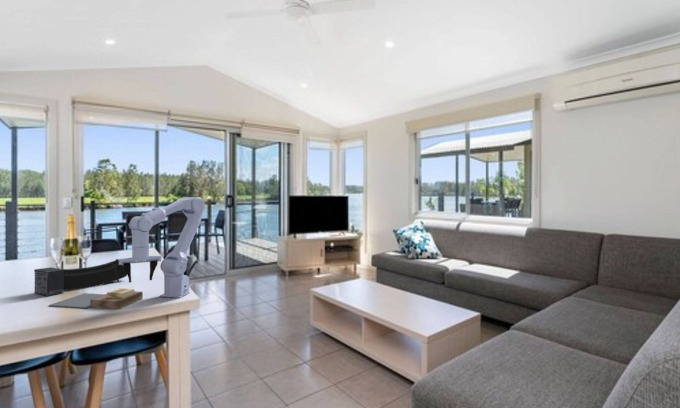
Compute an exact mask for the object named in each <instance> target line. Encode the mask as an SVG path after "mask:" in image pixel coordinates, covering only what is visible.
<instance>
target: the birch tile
mask: <svg viewBox="0 0 680 408" xmlns="http://www.w3.org/2000/svg"><path fill="white" fill-rule="evenodd" d="M134 291H135V288H115V289H113V290H110V291H107V292H106V294H107V298H126V297H128V296H131V295H133V294H134Z"/></svg>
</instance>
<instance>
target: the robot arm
mask: <svg viewBox="0 0 680 408" xmlns="http://www.w3.org/2000/svg"><path fill="white" fill-rule="evenodd" d="M205 208H206V205H205V202H204V200H203V198H201V197H197V196H196V197H192V196H191V197H189V196H183V197H181V198H178V199H177V200H176V201H173V202H172V203H170V204H168V205H166V206H164V207H162V208H161V207H152V208H151V210H150V211H147V212H143V213H141V215H140V216H133V217H132V218H131V219H130V222H129V223H128V227H129V229H130V230H131V236H132V237H131V256H132V257H125V258H124V257H123V258H118V260H119V265H122V264H123V267H124V269H125V271H126V273H127V278H128V283H132V273H131V272H132V271H131V270H132V269H131V268H132V267H131V264H140V263H149V281H152V280H153V276H154V273H155V271H156V268H157V266H158V264H159V263H158V262H161V263H160V270H161V271H162V273H163V275H164V276H163V279H164V281H163V284H164V285H163V286H164V287H163V291H164V292H163V293H162V294H160V295H159V297H161V298H162V297H163V298H177V299H178V298H182V297H184V296H186V295H188V294H190V293H191V291H190V277H189V276H188V275H185V274H184V273H185V271H186V270H187V265H188V261H189V259H188V257H187V253H188V251H189V248H190V246H191V244H192V241H193V239H194V237H195V235H196V233H197V231H198V228H199V226H200V224H201V221H202V218H203V212H204V209H205ZM178 211H182V212H183V214H184V216H185V217H186V218H187V220H186V222H185V224H184V227H183V228H182V231H181V233H180V235H179V237H178V239H177V242H176V243H175V246H174V248H173V250H172V251H171V252H169V253H168V254H167V255H166V256H165V258H164V259H163V260H162V256H161V255H152V256H151V255H150V244H149V243H150V238H149V237H150V230H151V229H152V227H153V226H155V225H157V224H159V223H162V222H163V221H165V220H166V217H167V216H169V215H171V214H174V213H176V212H178Z"/></svg>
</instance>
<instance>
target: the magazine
mask: <svg viewBox="0 0 680 408" xmlns="http://www.w3.org/2000/svg"><path fill="white" fill-rule="evenodd" d="M56 268H57V269H60V268H58V267H56ZM62 269H63V270H64V271H63V291H73V290H82V289H87V288H89V289H90V288H92V287H93V288H95V287H98V286H101V285H102V286H103V285H106V284H109V283H113V282H115V281H116V282H120V280H121V279H123V278H126V277H128V275H127V273H126V271H125V269H124V267H123V264H122V265H119V258H115V260H113V261H109V262H106V263H102V264H100V265H99V264H98V265H94V266H89V267H80V268H79V267H78V268H69V269H67V268H65V269H64V268H62Z"/></svg>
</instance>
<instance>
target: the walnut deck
mask: <svg viewBox="0 0 680 408" xmlns="http://www.w3.org/2000/svg"><path fill="white" fill-rule="evenodd" d="M141 300H143V291H135V290H134V294H133V295H131V296H128V297H126V298H107V293H105V295H102V296H99V297H96V298H94V299H91V300H90V307H89V308H95V309H108V310H109V309H110V310H111V309H112V310H120V309H122V308H125V307H127V306H129V305H132V304H134V303H136V302H138V301H141Z"/></svg>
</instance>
